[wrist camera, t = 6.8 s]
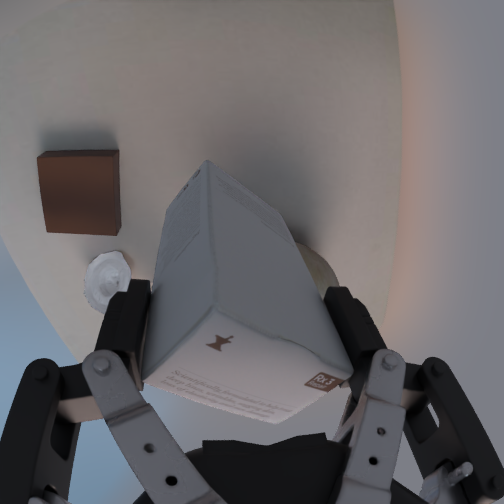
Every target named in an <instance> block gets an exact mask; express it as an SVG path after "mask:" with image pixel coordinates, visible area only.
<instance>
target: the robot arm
mask: <svg viewBox="0 0 504 504" xmlns="http://www.w3.org/2000/svg"><path fill="white" fill-rule="evenodd" d="M150 299H151V289H150V281H149V280H141V279H131V280H130V282H129V286H128V289H127V292H123V291H117V292H116V293H115V294H114V295H113V297H112V298H111V299H110V300H109V303H108V306H107V309H106V313H105V316H104V320H103V322H102V326H101V329H100V332H99V336H98V339H97V343H96V346H95V350H94V352H92V353H90V354H89V355H88V356H87V357H86V358H85V359H84V361H83V362H82V363H80V364H77V365H72V366H65V367H58V365H57V364H56V363H55V362H54V361H52V360H50V359H47V358H41V359H37V360H34V361H33V362H31V363H30V364H29V365H28V366H27V367H26V369H25V371H24V374H23V376H22V379H21V381H20V384H19V386H18V389H17V392H16V395H15V397H14V400H13V403H12V406H11V409H10V411H9V415H8V417H7V421H6V424H5V427H4V430H3V434H2V437H1V441H0V504H71V503H69V502H68V494H69V487H70V480H71V474H72V468H73V461H74V456H75V451H76V445H77V440H78V436H79V431H80V426H81V422H84V421H91V420H97V419H103V418H104V420H105V422H106V424H107V426H108V427H109V430H110V431H111V433H112V435H113V437H114V439H115V441H116V443H117V444H118V446H119V448H120V450H121V452H122V453H123V455H124V457H125V459H126V460H127V462H128V464H129V465H130V467H131V469H132V470H133V472H134V473H135V475H136V477H137V478H138V480H139V481H140V483H141V484H142V486H143V488H144V489H145V491H144V492H143V493H142V494H141V496H140V497H138V499H137V500H136V501H135V502H134V503H133V504H491V503H493V502H495V501H497V500H499V499H500V498H502V497H503V496H504V468H503V466H502V464H501V462H500V460H499V458H498V456H497V453H496V451H495V449H494V447H493V445H492V443H491V441H490V439H489V437H488V435H487V433H486V431H485V430H484V428H483V426H482V424H481V422H480V420H479V418H478V417H477V414H476V413H475V411H474V409H473V407H472V405H471V404H470V402H469V400H468V398H467V397H466V395H465V393H464V391H463V390H462V388H461V386H460V384H459V383H458V381H457V379H456V378H455V376H454V374H453V373H452V371H451V369H450V368H449V366H448V365H447V364H446V363H445V362H444V361H443V360H441V359H439V358H436V357H429V358H427V359H426V360H425V361H424V363H423V364H422V365H417V364H411V363H406V362H405V361H404V359H403V358H402V356H401V355H400V354H398V353H397V352H395V351H393V350H390V349H387V347H386V345H385V343H384V341H383V339H382V337H381V335H380V333H379V331H378V329H377V327H376V325H375V324H374V322H373V320H372V318H371V317H370V314H369V312H368V310H367V308H366V307H365V305H363V304H362V303H361V302H360V301H359V300H358V299H357V298H353V297H352V295H351V293H350V291H349V290H348V288H347V287H339V286H330V287H328V288H327V290H326V293H325V296H324V299H323V302H324V304H325V306H326V308H327V310H328V312H329V315H330V317H331V319H332V321H333V323H334V325H335V328H336V330H337V332H338V334H339V336H340V339H341V341H342V343H343V345H344V348H345V350H346V352H347V354H348V357H349V359H350V361H351V364H352V366H353V369H354V372H353V374H352V375H351V377H349V378H348V379H346V380H345V381H343V382H342V383H340V384H339V387H340V388H346V387H350V388H351V391H352V392H351V393H350V395H349V397H348V400H347V403H346V406H345V410H344V413H343V415H342V418H341V421H340V424H339V427H338V430H337V432H336V434H335V436H334V438H333V440H332V441H330V440H327V438H326V435H325V433H318V434H309V435H302V436H296V437H293V438H290V439H287V440H284V441H281V442H278V443H275V444H272V445H267V446H266V445H259V444H252V443H247V442H241V441H236V440H213V441H212V440H203V441H202V442H203V443H202V446H203V447H202V448H199V449H195V450H192V451H189V452H187V453H184V452H183V451H182V449H181V448H180V447H179V445H178V444H177V442H176V441H175V440H174V438H173V437H172V435H171V434H170V432H169V431H168V430H167V428H166V427H165V425H164V424H163V422H162V421H161V419H160V418H159V416H158V415H157V413H156V412H155V410H154V409H153V407H152V406H151V405H150V404H149V403H146V401H145V400H144V399H143V397H142V395H141V393H140V392H139V391H143V387H144V382H142V380H141V367H142V358H143V350H144V343H145V337H146V326H147V319H148V312H149V305H150ZM430 403H431V405H432V407H433V409H434V411H435V413H436V415H437V417H438V419H439V427H437V425H436V423H435V421H434V419H433V417H432V415H431V413H430V410H429V409H428V407H427V406H428V404H430ZM402 431H404V433H405V436H406V438H407V440H408V443H409V445H410V448H411V450H412V452H413V455H414V457H415V460H416V462H417V465H418V467H419V469H420V472H421V474H422V477H423V479H424V481H423V484H422V490H421V491H420V493H419V496H420V497H419V496H418V495H416V494H415V493H413V492H412V491H410V490H409V489H407V488H406V487H404V486H403V485H402V484H400V483H399V482H397V481H396V480H394V479H393V478H392V477H393V473H394V469H395V465H396V461H397V456H398V452H399V447H400V442H401V437H402Z"/></svg>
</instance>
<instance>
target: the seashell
mask: <svg viewBox="0 0 504 504" xmlns="http://www.w3.org/2000/svg"><path fill="white" fill-rule="evenodd" d="M130 280H131V270H130V267H129V266H128V264H127V263H126V261H125V259H124V258H123V255H122V253H121V252H118V251H116V250H115V251H113V252H107V253H105V254H100V255H98V257H97V258H95V259H94V260H93V261H92V262H91V263H90V264H89V266H88V269H87V273H86V276H85V279H84V281H85V290H84V294H86V295H85V297H86V298H87V300H88V303H90V304H91V307H93V308H94V309H96V310H98V311H99V312H101V313H103V314H104V313H106V309H107V306H108V303H109V300H110V299H111V298H112V297H113V295H114V294H115V293H116V292H117V291H123V292H127V289H128V286H129V282H130Z"/></svg>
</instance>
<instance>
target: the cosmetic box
mask: <svg viewBox="0 0 504 504" xmlns="http://www.w3.org/2000/svg"><path fill="white" fill-rule="evenodd" d="M353 372H354V369H353V366H352V364H351V361H350V359H349V357H348V354H347V352H346V350H345V348H344V345H343V343H342V341H341V339H340V336H339V334H338V332H337V330H336V328H335V325H334V323H333V321H332V319H331V317H330V315H329V312H328V310H327V308H326V306H325V304H324V302H323V299H322V297H321V295H320V293H319V291H318V289H317V287H316V285H315V283H314V281H313V278H312V276H311V274H310V272H309V270H308V268H307V266H306V264H305V262H304V260H303V258H302V256H301V254H300V252H299V250H298V248H297V246H296V244H295V242H294V240H293V237H292V235H291V233H290V231H289V229H288V227H287V225H286V223H285V221H284V219H283V217H282V215H281V214H280V213H279V212H277V211H276V210H275V209H273V208H272V207H271V206H269V205H268V204H267V203H266V202H264V201H263V200H262V199H260V198H259V197H258V196H256V195H255V194H254V193H252V192H251V191H250V190H248V189H247V188H246V187H244V186H243V185H242V184H240V183H239V182H238V181H236V180H235V179H234V178H232V177H231V176H230V175H228V174H227V173H226V172H224V171H223V170H222V169H220V168H219V167H218V166H216V165H215V164H214V163H212V162H210V161H209V160H205V161H204V162H203V164H202V165H201V166H200V167H199V169H198V170H197V171H196V172H195V173H194V175H193V176H192V177H191V178H190V180H189V181H188V182H187V183H186V185H185V186H184V187H183V189H182V190H181V191H180V192H179V194H178V195H177V196H176V198H175V199H174V200H173V202H172V203H171V204H170V206H169V207H168V209H167V211H166V217H165V222H164V226H163V231H162V236H161V242H160V247H159V252H158V257H157V263H156V268H155V274H154V281H153V286H152V292H151V299H150V305H149V312H148V319H147V326H146V337H145V343H144V350H143V358H142V367H141V380H142V382H144V383H146V384H149V385H151V386H154V387H157V388H160V389H162V390H165V391H168V392H171V393H173V394H176V395H179V396H182V397H184V398H187V399H190V400H193V401H196V402H199V403H202V404H206V405H209V406H212V407H215V408H218V409H221V410H225V411H229V412H232V413H235V414H239V415H242V416H246V417H250V418H254V419H258V420H262V421H266V422H270V423H273V424H277V423H280V422H282V421H284V420H285V419H287V418H289V417H291V416H292V415H294V414H296V413H297V412H299V411H300V410H302V409H304V408H305V407H307V406H308V405H309V404H311V403H313V402H314V401H316V400H317V399H319V398H320V397H322V396H323V395H325V394H326V393H328V392H329V391H330V390H332V389H333V388H335V387H336V386H337V385H339V384H340V383H342V382H343V381H345V380H346V379H348V378H349V377H351V375H352V374H353Z"/></svg>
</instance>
